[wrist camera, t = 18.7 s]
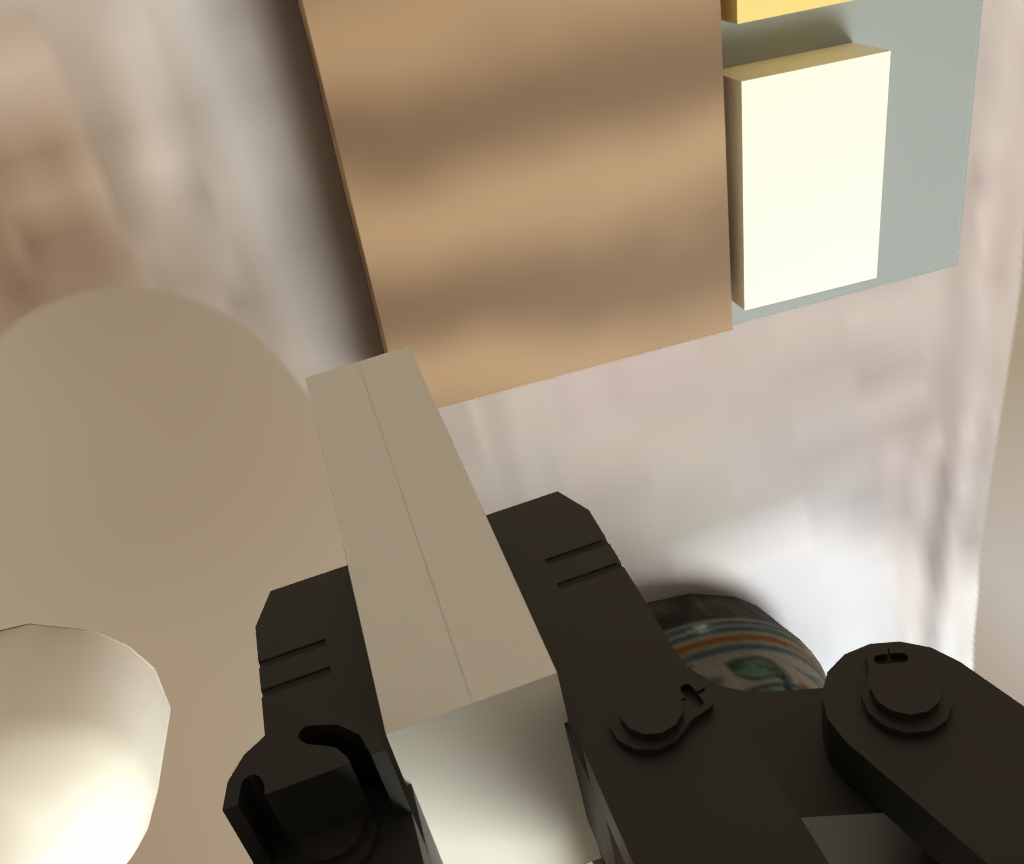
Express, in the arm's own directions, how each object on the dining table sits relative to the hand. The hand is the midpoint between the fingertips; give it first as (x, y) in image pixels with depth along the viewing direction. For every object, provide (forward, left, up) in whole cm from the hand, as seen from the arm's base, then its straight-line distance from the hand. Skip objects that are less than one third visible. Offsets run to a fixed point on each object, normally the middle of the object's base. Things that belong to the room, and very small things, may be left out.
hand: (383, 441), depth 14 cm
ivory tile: (+6, +19, -23) cm, 31 cm away
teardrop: (+23, -17, -24) cm, 38 cm away
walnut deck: (0, +9, -24) cm, 25 cm away
